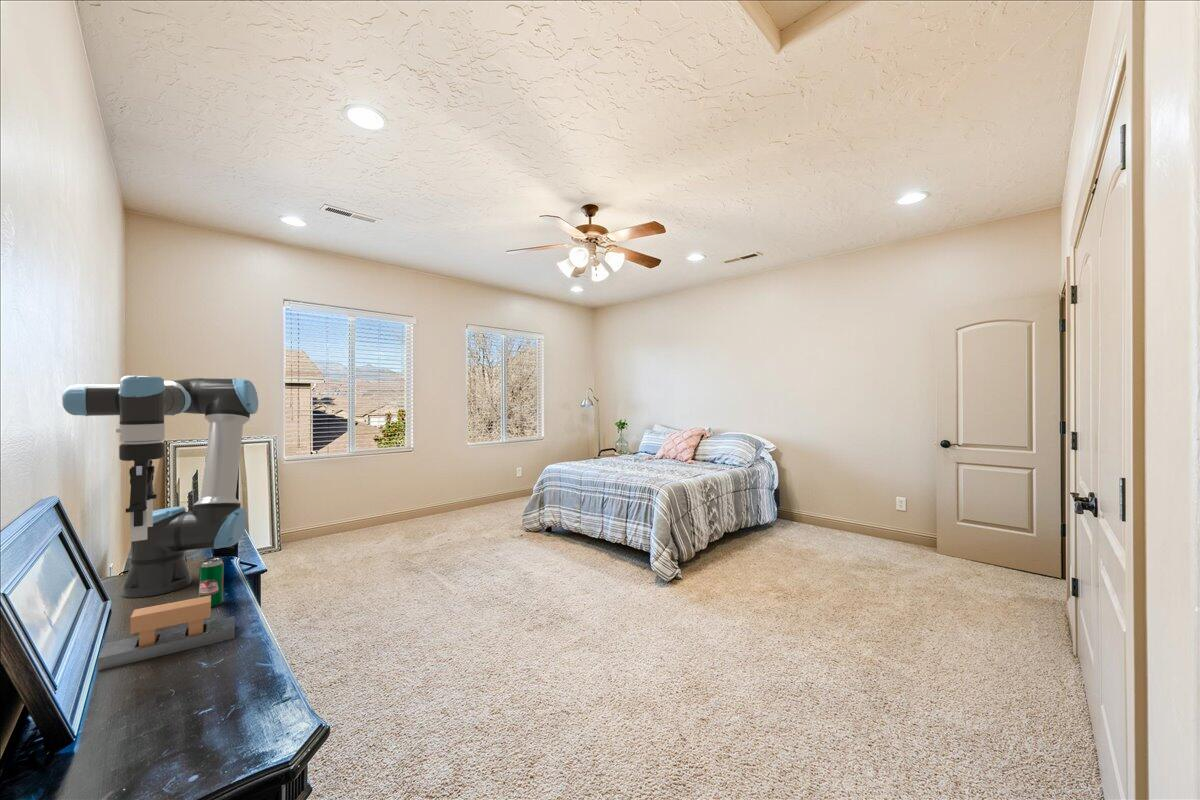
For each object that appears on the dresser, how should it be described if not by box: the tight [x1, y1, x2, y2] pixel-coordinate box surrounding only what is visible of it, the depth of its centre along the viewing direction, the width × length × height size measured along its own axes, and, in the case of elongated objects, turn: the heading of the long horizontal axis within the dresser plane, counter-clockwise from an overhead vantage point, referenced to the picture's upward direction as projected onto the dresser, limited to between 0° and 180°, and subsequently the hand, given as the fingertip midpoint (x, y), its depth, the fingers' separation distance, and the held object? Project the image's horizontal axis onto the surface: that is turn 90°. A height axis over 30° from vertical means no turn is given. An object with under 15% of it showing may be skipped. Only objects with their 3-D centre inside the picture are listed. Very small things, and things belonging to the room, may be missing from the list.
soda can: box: [198, 557, 224, 608], centre depth 128 cm, size 5×5×12 cm
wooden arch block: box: [129, 595, 212, 647], centre depth 106 cm, size 5×13×9 cm, turn 128°
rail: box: [96, 615, 236, 672], centre depth 106 cm, size 8×22×2 cm, turn 128°
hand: (142, 533), depth 110 cm, fingers open, 13 cm apart
